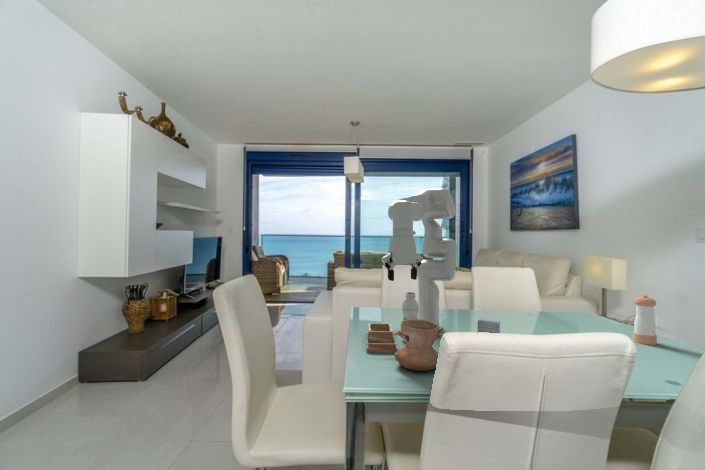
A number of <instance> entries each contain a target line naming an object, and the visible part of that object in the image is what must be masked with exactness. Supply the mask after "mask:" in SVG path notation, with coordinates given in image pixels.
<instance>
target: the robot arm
mask: <svg viewBox="0 0 705 470" xmlns="http://www.w3.org/2000/svg"><path fill="white" fill-rule="evenodd" d="M456 213H457V208H456V204H455V202H454V198H453V197H452V194H451V193H450V191H449V190H448V189H447V188H444V187H435V188H424V189H422V190H421V191H419V192H418V193H416V194H414V195H409V196H405V197H403V198H398V199H396V200H394V201H392V202H391V203H390V205H389V207H388V209H387V216H388V217H389V219H390V220H391V221H392V237H390V238H389V239H390V240H389V243H388V249H387V251H388V252H387V254H386V255H384V256H382V257H381V258H380V260H381V262H382V264H383V266H384V267H385V268H386V270H387V280H388V281H391V282H394V281H395V270H394V268H395V266H396V265H398V266H400V265H410V267H411V268H410V279H411V280H415V281H416V280H417V283H418V284H417V285H418V286H417V287H418V289H417V290H418V292H417V293H418V302H417V303H418V306H419V309H418V317H417V319H424V320H429V321H433V322H435V323H437V324H438V325H439V328H438V331H440V330H442V329H443V324H441V323H440V289H439V286H438V285H437V283H436V282H435V281H439V282H440V281H441V282H452V281H453V280H454V279H455V276H456V269H457V256H458V245H457V241H455V239H453V238H450V237H449V238H448V237H447V238H446V237H445V238H443V228H442V226H441V225H440V224H439V223H438V222H437V221H436V220H447V219H453V218H454V217H455V216H456ZM420 221H421V223H422V224H423V228H424V230H423V231H424V232H423V233H424V234H423V241H422V250H421V251H422V255H423V256H422V255H420V254H418V253H417V246H416V245H417V244H416V241H415V237H414V236H415V235H416V231H415V230H414V222H420ZM424 257H425V258H426V259H424ZM427 258H428V259H427ZM431 258H432V259H431ZM442 259H443V260H442ZM444 259H445V260H444Z"/></svg>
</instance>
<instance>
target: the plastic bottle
mask: <svg viewBox="0 0 705 470" xmlns="http://www.w3.org/2000/svg"><path fill="white" fill-rule="evenodd" d="M404 297H405V300H404V301H403V302H402V305H401V309H402V319H403V320H408V319H418V309H419V306H418V302H417V300H416V292H413V291H412V292H411V291H410V292H405V296H404ZM401 339H402V341H403V342H404V343H405V340H404V339H403V338H402V337H401Z"/></svg>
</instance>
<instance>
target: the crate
mask: <svg viewBox="0 0 705 470" xmlns="http://www.w3.org/2000/svg"><path fill="white" fill-rule="evenodd" d="M367 325H368V329H367V330H368V343H386V344H394V343H393V327H392V324H391V323H383V322H382V323H379V322H378V323H376V322H375V323H374V322H373V323H372V322H368V324H367Z"/></svg>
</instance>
